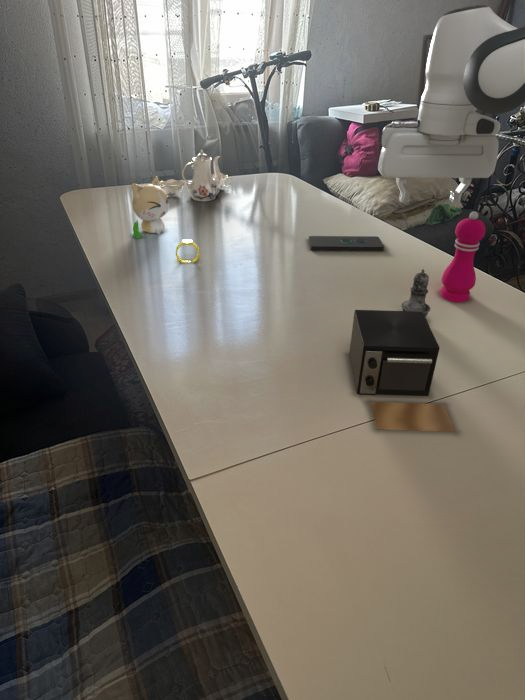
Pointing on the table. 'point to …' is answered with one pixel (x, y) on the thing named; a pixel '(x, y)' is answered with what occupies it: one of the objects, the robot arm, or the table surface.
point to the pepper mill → (463, 260)
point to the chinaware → (198, 180)
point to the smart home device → (345, 243)
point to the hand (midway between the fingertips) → (429, 201)
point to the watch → (187, 242)
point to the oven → (392, 353)
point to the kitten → (149, 207)
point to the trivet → (411, 416)
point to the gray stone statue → (418, 295)
